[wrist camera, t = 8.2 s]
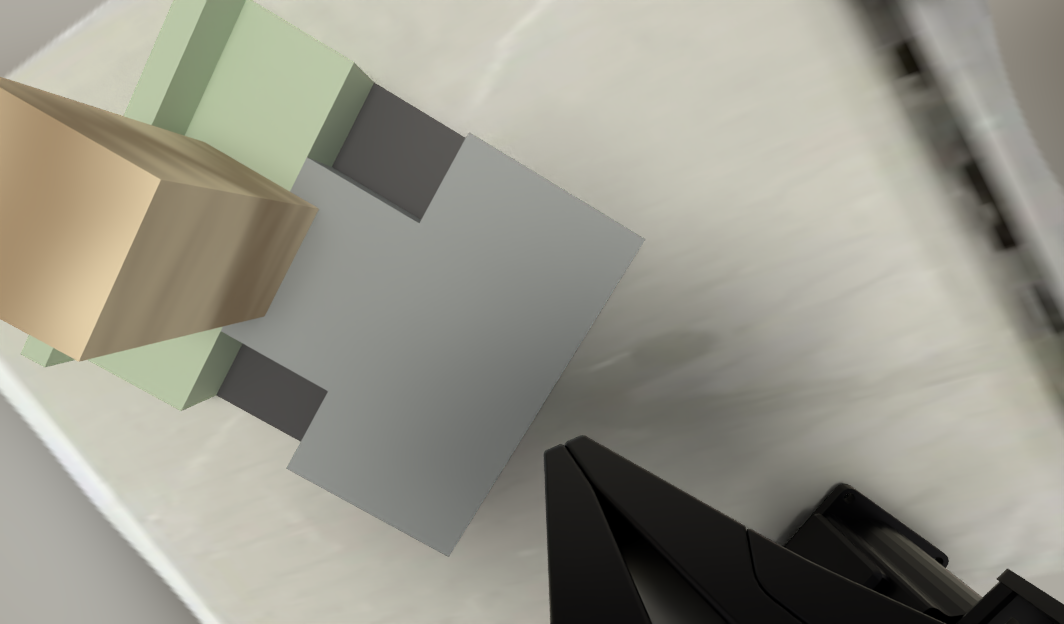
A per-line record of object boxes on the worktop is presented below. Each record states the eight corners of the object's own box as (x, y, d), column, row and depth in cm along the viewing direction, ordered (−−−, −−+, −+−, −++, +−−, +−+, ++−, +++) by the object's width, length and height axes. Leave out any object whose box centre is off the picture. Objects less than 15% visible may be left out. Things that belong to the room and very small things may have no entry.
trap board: (632, 240, 20) (655, 238, 16) (458, 522, 22) (441, 581, 18) (263, 17, 19) (192, -43, 15) (117, 334, 21) (20, 354, 17)
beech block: (318, 208, 18) (161, 179, 10) (264, 316, 18) (78, 361, 11) (205, 142, 18) (-41, 63, 10) (153, 253, 18) (-114, 257, 11)
